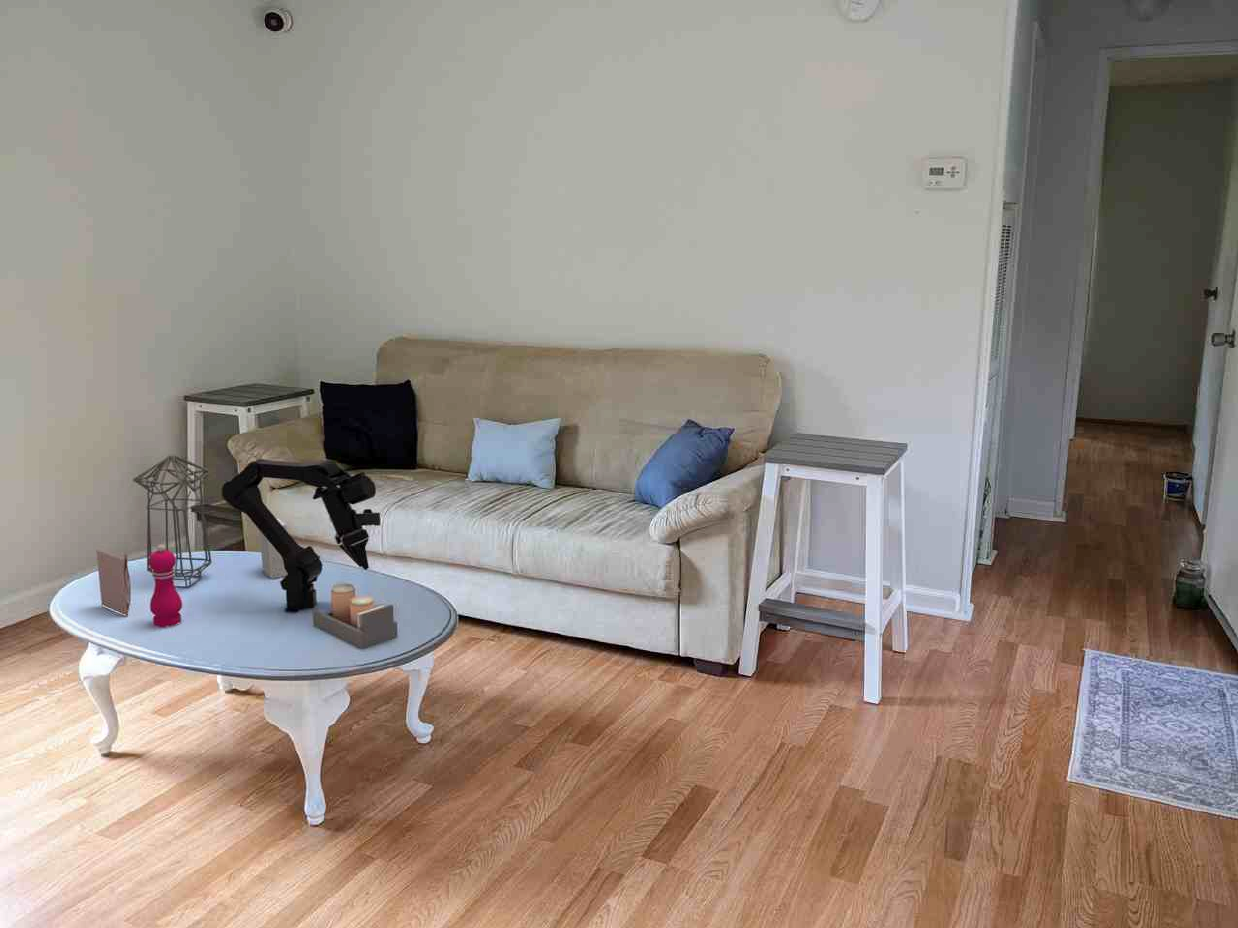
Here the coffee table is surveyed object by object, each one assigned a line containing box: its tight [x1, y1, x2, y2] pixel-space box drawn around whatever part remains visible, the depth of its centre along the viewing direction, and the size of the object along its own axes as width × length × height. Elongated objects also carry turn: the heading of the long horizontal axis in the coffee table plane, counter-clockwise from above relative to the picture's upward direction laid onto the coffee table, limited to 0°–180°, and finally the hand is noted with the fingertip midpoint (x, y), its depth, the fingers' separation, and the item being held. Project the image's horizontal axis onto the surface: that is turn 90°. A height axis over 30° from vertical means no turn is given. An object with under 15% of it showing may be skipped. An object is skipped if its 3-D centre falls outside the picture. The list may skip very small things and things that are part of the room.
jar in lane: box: [350, 595, 376, 629], centre depth 252 cm, size 6×6×9 cm
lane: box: [312, 604, 398, 650], centre depth 254 cm, size 20×10×9 cm, turn 49°
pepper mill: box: [149, 544, 183, 628], centre depth 257 cm, size 7×7×20 cm
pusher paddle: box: [357, 605, 385, 631], centre depth 249 cm, size 2×7×7 cm, turn 139°
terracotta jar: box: [330, 582, 356, 626], centre depth 257 cm, size 6×6×10 cm
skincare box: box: [258, 517, 288, 580], centre depth 293 cm, size 8×6×15 cm
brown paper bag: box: [95, 545, 132, 617], centre depth 265 cm, size 11×7×15 cm, turn 21°
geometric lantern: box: [132, 454, 214, 589], centre depth 283 cm, size 16×16×35 cm
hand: (364, 567), depth 263 cm, fingers open, 9 cm apart
